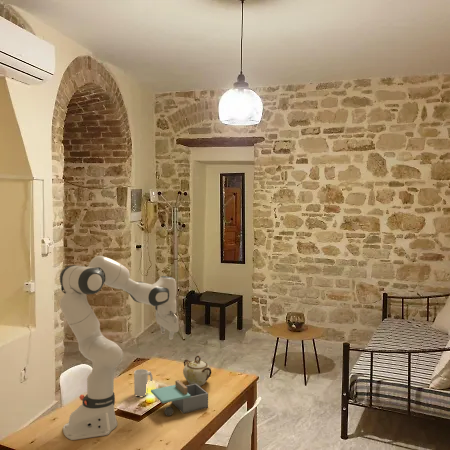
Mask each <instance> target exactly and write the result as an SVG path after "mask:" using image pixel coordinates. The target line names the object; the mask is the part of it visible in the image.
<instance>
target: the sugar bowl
mask: <svg viewBox="0 0 450 450" xmlns="http://www.w3.org/2000/svg"><path fill="white" fill-rule="evenodd" d="M197 358H198V359H197ZM183 365H184V367H183V370H182V373H183V376H184V379H185V380H186V381H187V383H188V385H192V384H197V385H198V386H200V387H201V386H203V385H205V383H206V382H207V381H208V380H209V378H210V377H211V375H212V368H211V367H210V365H209V364H208V363H207V362H206V361H203V360H201V356H200V355H196V356H195V357H194V360H189V359H184V361H183Z"/></svg>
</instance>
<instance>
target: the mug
mask: <svg viewBox="0 0 450 450" xmlns="http://www.w3.org/2000/svg"><path fill="white" fill-rule="evenodd" d="M148 377H149V378H148ZM133 378H134V379H133V380H134V381H133V384H134V387H133V389H134V391H133V393H134V396H135V395H137V396H145V393H146V384H147V382H148V380H149V379H150V380H149V382H150V381H152V382H153V378H154V377H153V374H152V372H151V371H148V370H147V369H145V368H144V369H143V368H141V369H135V370H134V371H133ZM149 382H148V383H149ZM145 397H146V396H145Z"/></svg>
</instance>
